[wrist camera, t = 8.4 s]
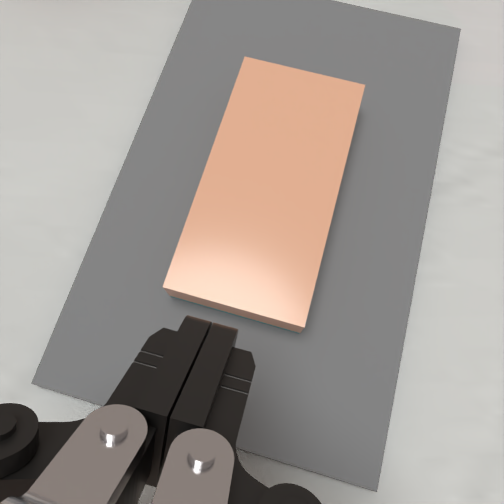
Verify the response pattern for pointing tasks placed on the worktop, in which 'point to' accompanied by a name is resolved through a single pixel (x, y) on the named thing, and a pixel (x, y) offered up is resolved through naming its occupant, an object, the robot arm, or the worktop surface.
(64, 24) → the worktop surface
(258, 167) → the tile
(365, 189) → the mat
